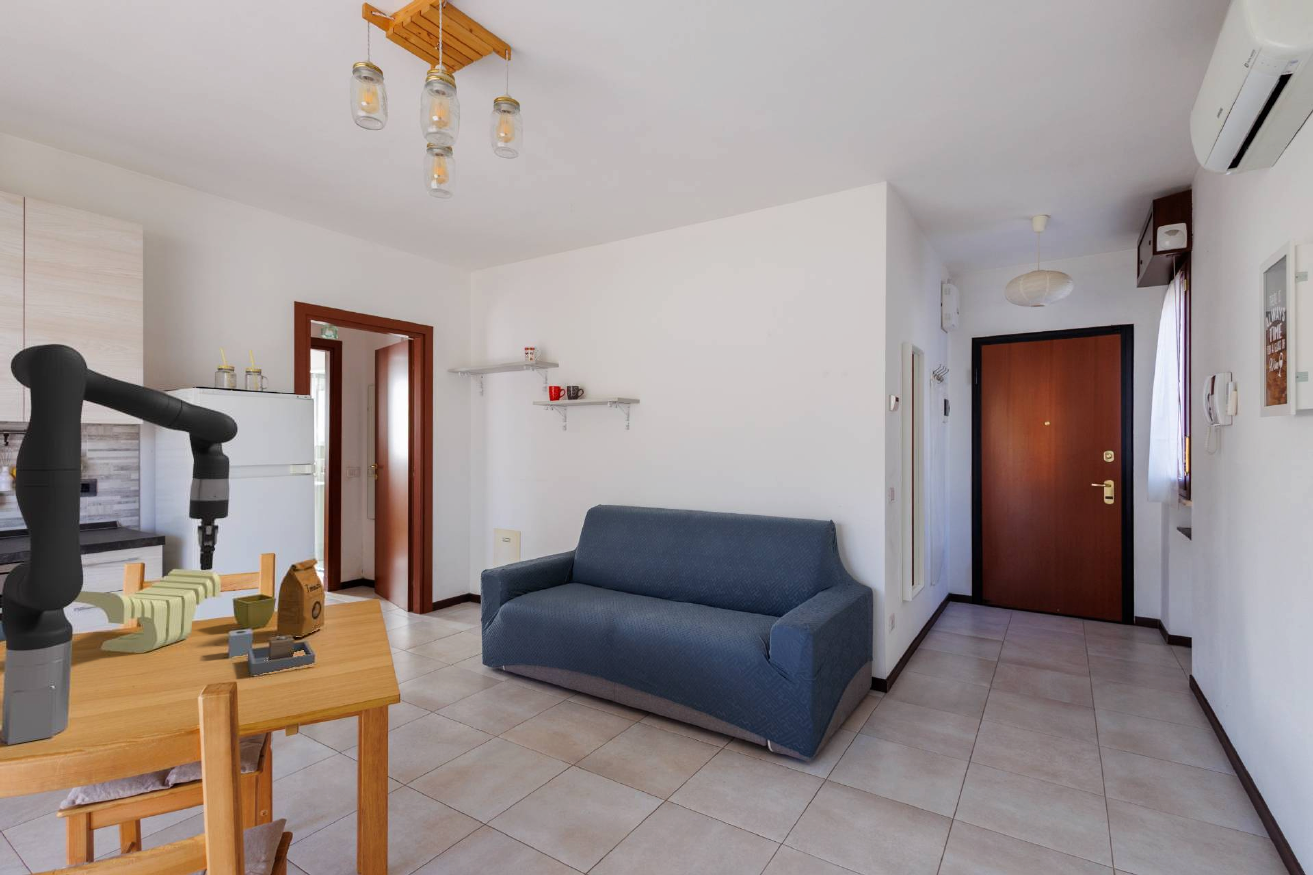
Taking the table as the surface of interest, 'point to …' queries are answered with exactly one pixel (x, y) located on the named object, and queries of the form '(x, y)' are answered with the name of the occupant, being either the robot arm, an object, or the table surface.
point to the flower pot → (253, 610)
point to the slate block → (240, 642)
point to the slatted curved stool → (156, 609)
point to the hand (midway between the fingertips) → (205, 566)
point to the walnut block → (281, 647)
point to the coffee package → (300, 600)
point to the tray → (262, 653)
